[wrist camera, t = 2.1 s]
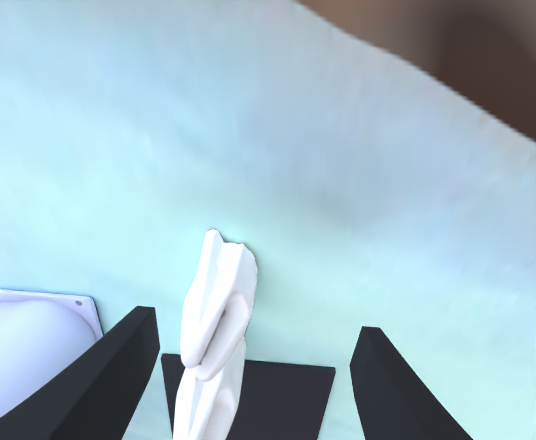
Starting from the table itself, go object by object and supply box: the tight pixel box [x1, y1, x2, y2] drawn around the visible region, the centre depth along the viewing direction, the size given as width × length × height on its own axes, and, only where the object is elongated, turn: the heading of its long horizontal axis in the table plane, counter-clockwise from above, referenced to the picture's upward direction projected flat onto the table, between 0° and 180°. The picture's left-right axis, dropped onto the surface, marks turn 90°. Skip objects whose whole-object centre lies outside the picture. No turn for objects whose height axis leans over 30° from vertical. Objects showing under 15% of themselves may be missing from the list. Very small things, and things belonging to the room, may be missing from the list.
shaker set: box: [173, 229, 258, 440], centre depth 18 cm, size 12×4×11 cm, turn 172°
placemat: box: [161, 354, 336, 440], centre depth 30 cm, size 16×20×1 cm
